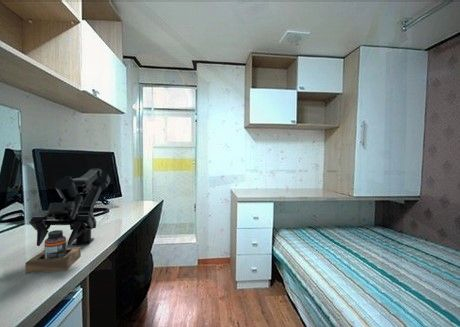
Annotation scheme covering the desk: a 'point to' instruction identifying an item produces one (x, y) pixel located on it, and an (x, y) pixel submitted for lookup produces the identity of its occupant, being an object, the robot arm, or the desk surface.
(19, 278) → the desk surface
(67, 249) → the walnut pocket block
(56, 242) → the supplement bottle
